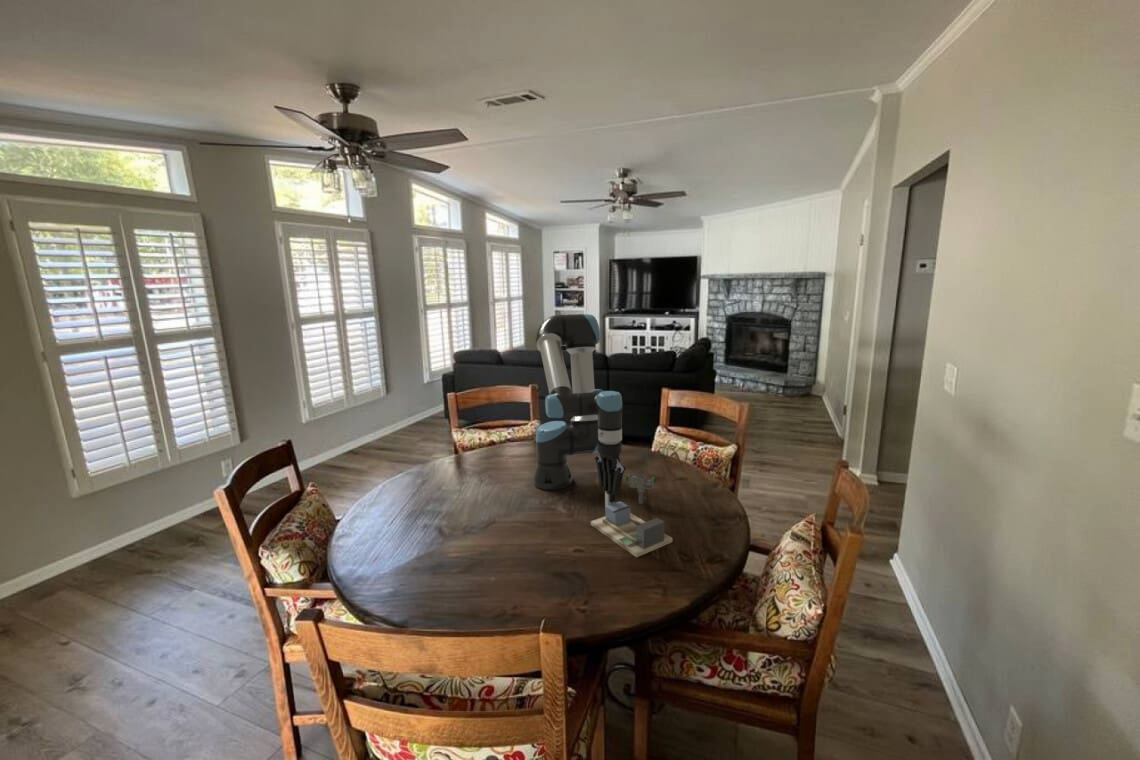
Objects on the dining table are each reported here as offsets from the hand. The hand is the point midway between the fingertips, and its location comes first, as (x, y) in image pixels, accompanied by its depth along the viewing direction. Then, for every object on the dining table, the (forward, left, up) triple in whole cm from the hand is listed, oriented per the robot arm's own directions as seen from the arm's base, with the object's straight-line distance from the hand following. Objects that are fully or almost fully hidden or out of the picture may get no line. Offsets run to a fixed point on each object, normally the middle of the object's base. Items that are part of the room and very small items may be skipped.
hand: (609, 509), depth 152 cm
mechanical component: (-3, +16, -4) cm, 17 cm away
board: (+10, 0, -4) cm, 11 cm away
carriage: (+4, 0, -2) cm, 4 cm away
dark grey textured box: (+19, 0, -2) cm, 19 cm away
